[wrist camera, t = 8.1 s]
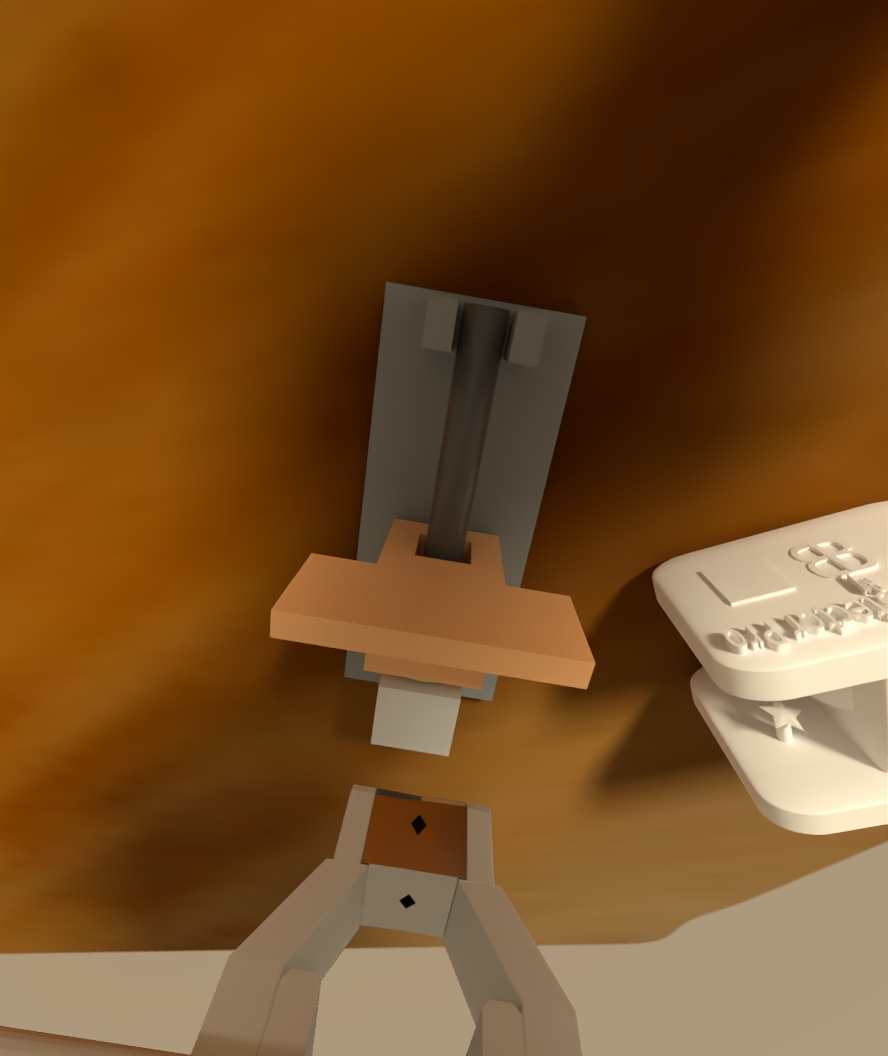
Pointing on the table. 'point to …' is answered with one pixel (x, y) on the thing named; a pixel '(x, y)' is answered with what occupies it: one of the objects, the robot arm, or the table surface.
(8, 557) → the table surface
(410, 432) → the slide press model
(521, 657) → the orange piece
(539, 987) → the robot arm
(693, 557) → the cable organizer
